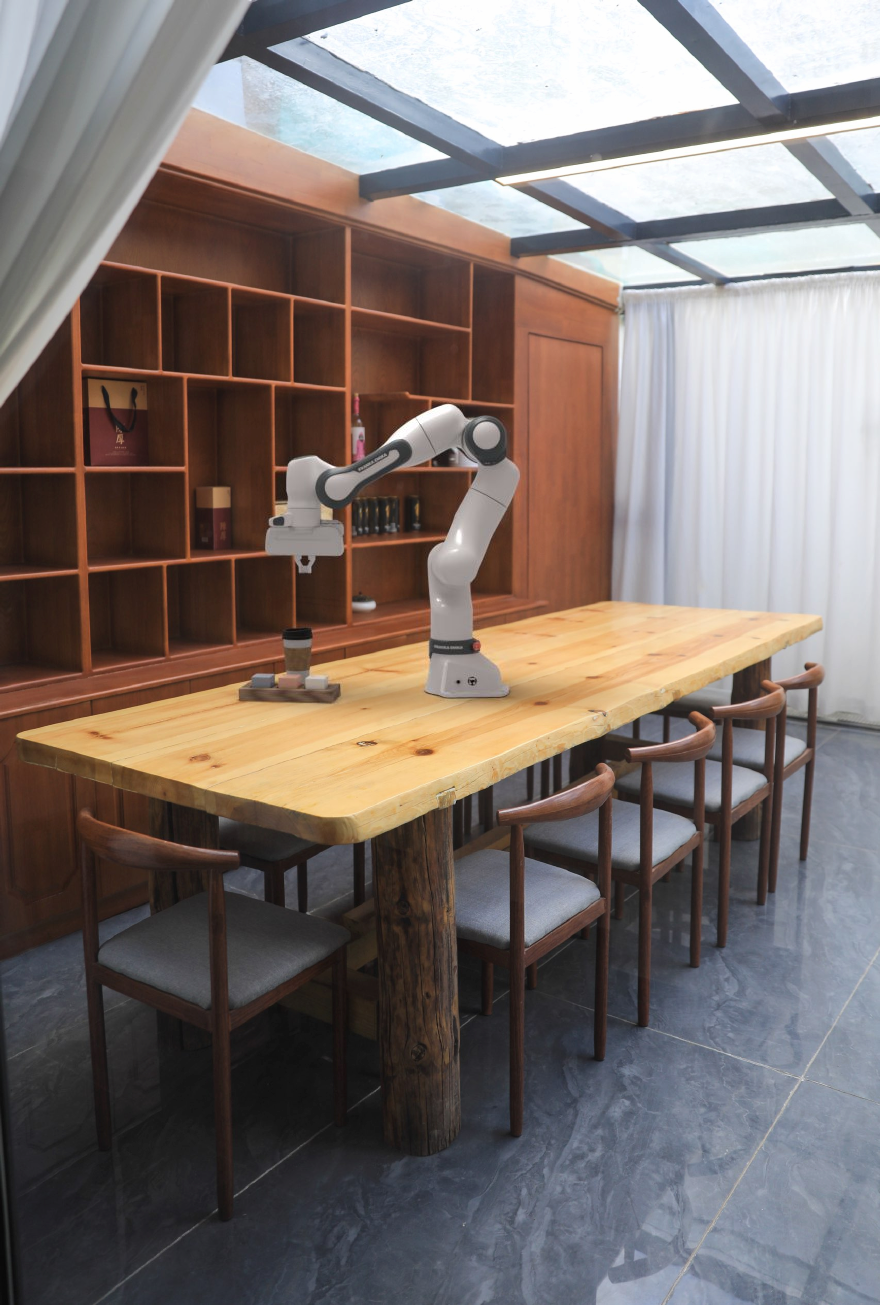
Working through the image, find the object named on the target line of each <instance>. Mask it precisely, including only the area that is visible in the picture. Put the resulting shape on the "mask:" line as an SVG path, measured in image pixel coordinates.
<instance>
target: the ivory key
mask: <svg viewBox="0 0 880 1305" xmlns="http://www.w3.org/2000/svg"><path fill="white" fill-rule="evenodd" d="M328 683H329V675H322V674H321V675H319V674H315V675H314V674H309V676H308V677H307V678H306V679H305V685H306V689H320V690H326V689H327V688H328Z"/></svg>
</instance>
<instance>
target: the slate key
mask: <svg viewBox="0 0 880 1305" xmlns="http://www.w3.org/2000/svg"><path fill="white" fill-rule="evenodd" d="M250 681H251V682H252V688H273V687H274V686H275V682H276V674H275V673H255V674H254V675H252V676H251V680H250Z"/></svg>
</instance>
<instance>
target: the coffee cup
mask: <svg viewBox="0 0 880 1305" xmlns="http://www.w3.org/2000/svg"><path fill="white" fill-rule="evenodd" d="M313 636H314V635H313V631H312V628H311V627H295V628H294V627H293V628H292V627H291V628H285V629H282V633H281V637H282V638H281V639H282V640H283V646H282V648H283V654H284V655H283V656H284V662H285V671H286V674H289V675H302V683H305V679H306V678H307V677H308V676H309V675H311V674H310V671H311V670H310V669H311V659H312V646H313V645H312V639H313V638H314V637H313Z"/></svg>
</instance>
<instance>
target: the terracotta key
mask: <svg viewBox="0 0 880 1305" xmlns="http://www.w3.org/2000/svg"><path fill="white" fill-rule="evenodd" d="M277 682H278V687H279V688H282V689H299V688H301V687H302V675H289V674H287V673H286V674H282V675H280V676H279V677H278V680H277Z"/></svg>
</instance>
